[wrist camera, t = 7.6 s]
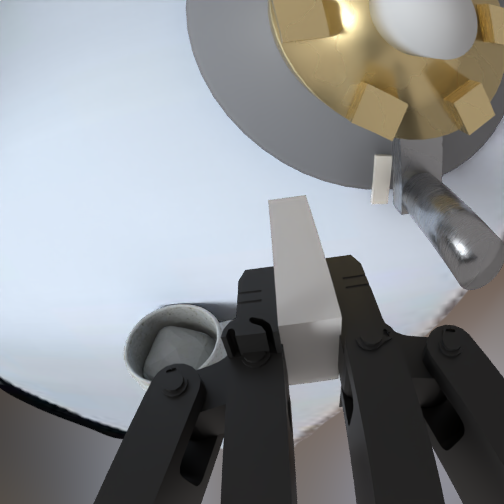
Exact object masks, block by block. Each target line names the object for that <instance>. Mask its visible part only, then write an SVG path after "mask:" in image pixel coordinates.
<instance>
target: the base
mask: <svg viewBox="0 0 504 504" xmlns="http://www.w3.org/2000/svg"><path fill="white" fill-rule="evenodd" d="M498 1H499V4H500V7H503V8H504V0H498ZM369 10H370V15H371V18H372V21H373V24H374V26H375V28H376V29H377V31H378V32H379V34H380V35H381V36H382V38H383V39H384V40H385V41H386V42H387V43H388V44H390V45H391V46H392V47H394V48H395V49H397V50H398V51H400V52H402V53H405V54H408V55H411V56H418V57H427V58H435V59H444V60H449V59H455V58H458V57H461V56H462V55H464V54H465V53H466V52H468V51H469V49H470V48H471V47H472V45H473V43H474V41H475V39H476V35H477V27H478V25H477V15H476V11H475V8H474V5H473V3H472V1H471V0H369ZM186 16H187V29H188V34H189V38H190V43H191V47H192V51H193V54H194V57H195V60H196V62H197V65H198V67H199V70H200V72H201V75H202V77H203V79H204V80H205V82H206V84H207V86H208V88H209V89H210V91H211V93H212V95H213V97H214V98H215V99H216V101H217V102H218V103H219V105H220V106H221V107H222V109H223V110H224V112H225V113H226V114H227V116H228V117H229V118H230V119H231V120H232V121H233V122H234V123H235V124H236V125H237V126H238V127H239V129H240V130H241V131H242V132H243V133H244V134H245V135H246V136H248V137H249V138H250V139H251V140H252V141H254V142H255V143H256V144H257V145H258V146H259V147H261V148H262V149H263V150H265V151H266V152H268V153H269V154H271V155H272V156H274V157H275V158H277V159H278V160H280V161H281V162H282V163H284V164H286V165H288V166H290V167H292V168H294V169H296V170H298V171H300V172H302V173H304V174H307V175H309V176H312V177H315V178H317V179H320V180H323V181H326V182H330V183H334V184H338V185H341V186H345V187H353V188H361V189H372V193H371V203H372V204H387V203H388V195H389V189H393V163H392V144H391V140H389V139H387V138H384V137H382V136H380V135H378V134H376V133H374V132H371V131H369V130H367V129H364V128H362V127H360V126H358V125H356V124H353V123H351V122H350V121H349V120H347V119H346V118H344V117H343V116H341V115H340V114H338V113H337V112H335V111H334V110H333V109H331V108H330V107H328V106H327V105H326V104H324V103H323V102H322V101H320V100H319V99H318V98H317V97H315V96H314V95H313V94H312V93H310V92H309V91H308V90H307V89H306V88H305V87H304V86H303V85H302V84H301V83H300V82H299V81H298V79H297V78H296V77H295V76H294V74H293V73H292V72H291V71H290V69H289V68H288V66H287V65H286V63H285V62H284V60H283V58H282V57H281V55H280V53H279V50H278V48H277V46H276V44H275V42H274V38H273V35H272V32H271V29H270V24H269V18H268V0H187V1H186ZM490 103H491V106H492V108H493V111H494V113H495V116H493V117H492V118H491V119H490V120H488V121H487V122H486V123H485V124H483V125H482V126H481V127H480V128H478V129H477V130H476V131H474V132H473V133H472V134H471V135H468V134H466V133H464V132H462V131H460V130H457V131H455V132H453V133H450V134H447V135H444V136H442V175H444V174H446V173H448V172H450V171H452V170H453V169H455V168H457V167H458V166H460V165H461V164H462V163H464V162H465V161H466V160H468V159H469V158H471V157H472V156H473V155H474V154H475V153H476V152H477V151H478V150H479V149H480V148H481V147H482V146H483V145H484V144H485V142H486V141H487V140H488V139H489V137H490V136H491V135H492V134H493V132H494V131H495V129H496V127H497V126H498V124H499V122H500V121H501V119H502V117H503V115H504V73H503V76H502V80H501V82H500V85H499V87H498V89H497V92H496V94H495V95H494V97H493V98H492V100H491V102H490Z"/></svg>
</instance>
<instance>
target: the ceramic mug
mask: <svg viewBox="0 0 504 504" xmlns="http://www.w3.org/2000/svg"><path fill="white" fill-rule="evenodd" d="M230 321H232V320H228V321H224V322H221V323H219V322H218V320H217V318H216V317H215V316H214V315H213V314H212V313H211V312H209V311H208V310H206V309H204V308H202V307H199V306H195V305H190V304H176V305H169V306H165V307H162V308H160V309H157V310H155V311H153V312H151V313H150V314H148V315H146V316H145V317H144V318H142V319H141V320H140V321H139V322H138V323H137V324H136V326H135V327H134V328H133V329H132V331H131V332H130V334H129V336H128V338H127V340H126V344H125V348H124V360H125V364H126V367H127V370H128V372H129V373H130V375H131V376H132V377H133V378H134V379H135V381H136V382H137V383H138V384H139V385H140V386H141V387H142V388H143V389H144V390H145V391H147V389H148V387H149V385H150V383H151V381H152V379H153V378H154V377H155V375H156V374H157V373H158V372H159V371H160V370H162V369H163V368H164V367H166V366H169V365H172V364H187V365H189V366H192V367H193V368H194V369H195V370H198V369H201V368H204V367H207V366H210V365H212V364H215V363H217V362H219V361H221V360H222V359H223V358H225V357H226V356H227V353H226V350H225V347H224V345H223V342H222V340H221V335H222V332H223V329H224V328H225V327H226V325H227V324H228V323H229V322H230Z"/></svg>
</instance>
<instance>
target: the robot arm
mask: <svg viewBox="0 0 504 504" xmlns="http://www.w3.org/2000/svg"><path fill="white" fill-rule="evenodd" d="M268 203H269V214H270V226H271V238H272V250H273V263H274V266H273V267H265V268H258V269H250V270H245V271H244V273H243V275H242V276H241V278H240V279H239V281H238V298H237V304H238V305H237V315H236V318H235V319H233V320H232V321H230V322H229V323H228V324H227V325H226V327H225V328H224V329H223V332H222V335H221V340H222V342H223V345H224V347H225V350H226V353H227V356H226V357H225V358H223V359H222V360H221V361H219V362H217V363H215V364H212V365H210V366H207V367H204V368H201V369H198V370H195V369H194V368H193V367H192V366H189V365H187V364H172V365H169V366H166V367H164V368H163V369H162V370H160V371H159V372H158V373H157V374H156V375H155V377H154V378H153V379H152V381H151V383H150V385H149V387H148V389H147V391H146V393H145V395H144V397H143V399H142V402H141V404H140V406H139V408H138V410H137V412H136V414H135V416H134V418H133V420H132V422H131V424H130V426H129V428H128V430H127V433H126V435H125V437H124V439H123V441H122V443H121V445H120V447H119V449H118V452H117V454H116V456H115V458H114V460H113V462H112V464H111V467H110V469H109V471H108V473H107V475H106V477H105V480H104V482H103V484H102V486H101V489H100V491H99V493H98V495H97V497H96V499H95V502H94V504H201V502H202V499H203V496H204V493H205V491H206V488H207V484H208V482H209V479H210V476H211V473H212V470H213V467H214V464H215V461H216V458H217V455H218V452H219V450H220V447H221V444H222V441H223V438H224V446H223V465H222V486H221V504H297V491H296V490H297V489H296V472H295V457H294V441H293V427H292V413H291V401H290V395H289V385H296V384H304V383H312V382H319V381H326V380H332V379H338V377H339V375H340V380H341V394H340V405H339V407H342V406H343V412H344V418H345V424H346V430H347V437H348V443H349V450H350V457H351V464H352V471H353V479H354V486H355V495H356V503H357V504H445V502H444V497H443V493H442V488H441V483H440V478H439V474H438V470H437V466H436V461H435V457H434V453H433V449H434V451H435V452H436V454H437V456H438V458H439V460H440V462H441V463H442V465H443V467H444V469H445V471H446V472H447V474H448V476H449V478H450V480H451V482H452V484H453V485H454V487H455V489H456V491H457V493H458V495H459V496H460V499H461V500H462V503H463V504H504V378H503V376H502V375H501V374H500V373H499V371H498V370H497V369H496V367H495V366H494V365H493V364H492V363H491V361H490V360H489V358H488V357H487V356H486V355H485V354H484V352H483V351H482V350H481V349H480V348H479V346H478V345H477V344H476V342H475V341H474V340H473V339H472V338H471V336H470V335H469V334H468V333H467V332H465V331H464V330H463V329H461V328H459V327H456V326H453V325H443V326H440V327H437V328H436V329H434V330H433V331H432V332H431V333H430V335H429V337H416V336H407V335H402V334H399V333H397V332H395V331H393V329H392V328H391V327H390V326H389V325H387V324H386V323H385V322H384V320H383V318H382V316H381V313H380V311H379V308H378V305H377V303H376V300H375V298H374V295H373V293H372V290H371V288H370V285H369V283H368V280H367V278H366V276H365V273H364V270H363V268H362V266H361V263H360V262H358V261H357V260H356V259H355V258H354V257H353V256H351V255H346V256H339V257H331V258H325V255H324V252H323V249H322V246H321V242H320V239H319V236H318V232H317V229H316V226H315V223H314V220H313V217H312V213H311V210H310V207H309V204H308V201H307V198H306V195H304V196H296V197H289V198H282V199H274V200H268ZM431 445H432V446H431ZM432 447H433V449H432Z"/></svg>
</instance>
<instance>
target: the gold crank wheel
mask: <svg viewBox="0 0 504 504" xmlns="http://www.w3.org/2000/svg"><path fill="white" fill-rule="evenodd" d="M471 1H472V3H473V5H474V8H475V11H476V15H477V25H478V27H477V35H476V39H475V41H474V43H473V45H472V47H471V48H470V49H469V51H468V52H466V53H465V54H464V55H462V56H461V57H458V58H455V59H449V60H444V59H435V58H427V57H418V56H411V55H408V54H405V53H402V52H400V51H398V50H397V49H395V48H394V47H392V46H391V45H390V44H388V43H387V42H386V41H385V40H384V39H383V38H382V36H381V35H380V34H379V32H378V31H377V29H376V28H375V26H374V24H373V21H372V18H371V15H370V10H369V0H268V18H269V24H270V29H271V32H272V35H273V38H274V42H275V44H276V46H277V48H278V50H279V53H280V55H281V57H282V58H283V60H284V62H285V63H286V65H287V66H288V68H289V69H290V71H291V72H292V73H293V74H294V76H295V77H296V78H297V79H298V81H299V82H300V83H301V84H302V85H303V86H304V87H305V88H306V89H307V90H308V91H309V92H310V93H312V94H313V95H314V96H315V97H317V98H318V99H319V100H320V101H322V102H323V103H324V104H326V105H327V106H328V107H330V108H331V109H333V110H334V111H335V112H337V113H338V114H340V115H341V116H343V117H344V118H346V119H347V120H349V121H350V122H351V123H353V124H356V125H358V126H360V127H362V128H364V129H367V130H369V131H371V132H374V133H376V134H378V135H380V136H382V137H384V138H387V139H389V140H391V144H392V163H393V204H394V206H395V207H396V208H397V210H398V211H399V212H400V214H401V215H403V214H410V216H411V217H412V218H413V219H414V221H415V222H416V223H417V225H418V226H419V227H420V229H421V230H422V231H423V233H424V234H425V235H426V237H427V238H428V239H429V241H430V242H431V243H432V245H433V246H434V248H435V249H436V250H437V252H438V253H439V255H440V256H441V257H442V259H443V260H444V262H445V263H446V265H447V266H448V268H449V269H450V271H451V272H452V274H453V275H454V277H455V278H456V280H457V281H458V283H459V284H460V286H461V287H463V288H464V289H467V290H474V289H478V288H481V287H482V286H484V285H486V284H487V283H489V282H490V281H491V280H492V279H493V278H494V277H495V276H496V275H497V274H498V272H499V271H500V269H501V268H502V266H503V263H504V243H503V242H502V241H501V240H500V238H499V237H498V236H497V235H496V234H495V233H494V232H493V231H492V230H491V229H490V228H489V227H488V226H487V225H486V224H485V223H484V222H483V221H482V220H481V219H480V218H479V217H478V216H477V215H476V214H475V213H474V212H473V211H472V210H471V209H470V208H469V207H468V206H467V205H466V204H465V203H464V202H463V201H462V200H461V199H460V198H459V197H458V196H456V195H455V194H454V193H453V192H452V191H451V190H450V189H449V188H448V187H447V186H445V185H444V184H443V183H442V136H444V135H447V134H450V133H453V132H455V131H457V130H460V131H462V132H464V133H466V134H468V135H471V134H472V133H473V132H474V131H476V130H477V129H478V128H480V127H481V126H482V125H483V124H485V123H486V122H487V121H488V120H490V119H491V118H492V117H493V116H495V113H494V111H493V108H492V106H491V103H490V102H491V100H492V98H493V97H494V95H495V94H496V92H497V89H498V87H499V85H500V82H501V80H502V76H503V73H504V8H503V7H500V4H499V1H498V0H471Z"/></svg>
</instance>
